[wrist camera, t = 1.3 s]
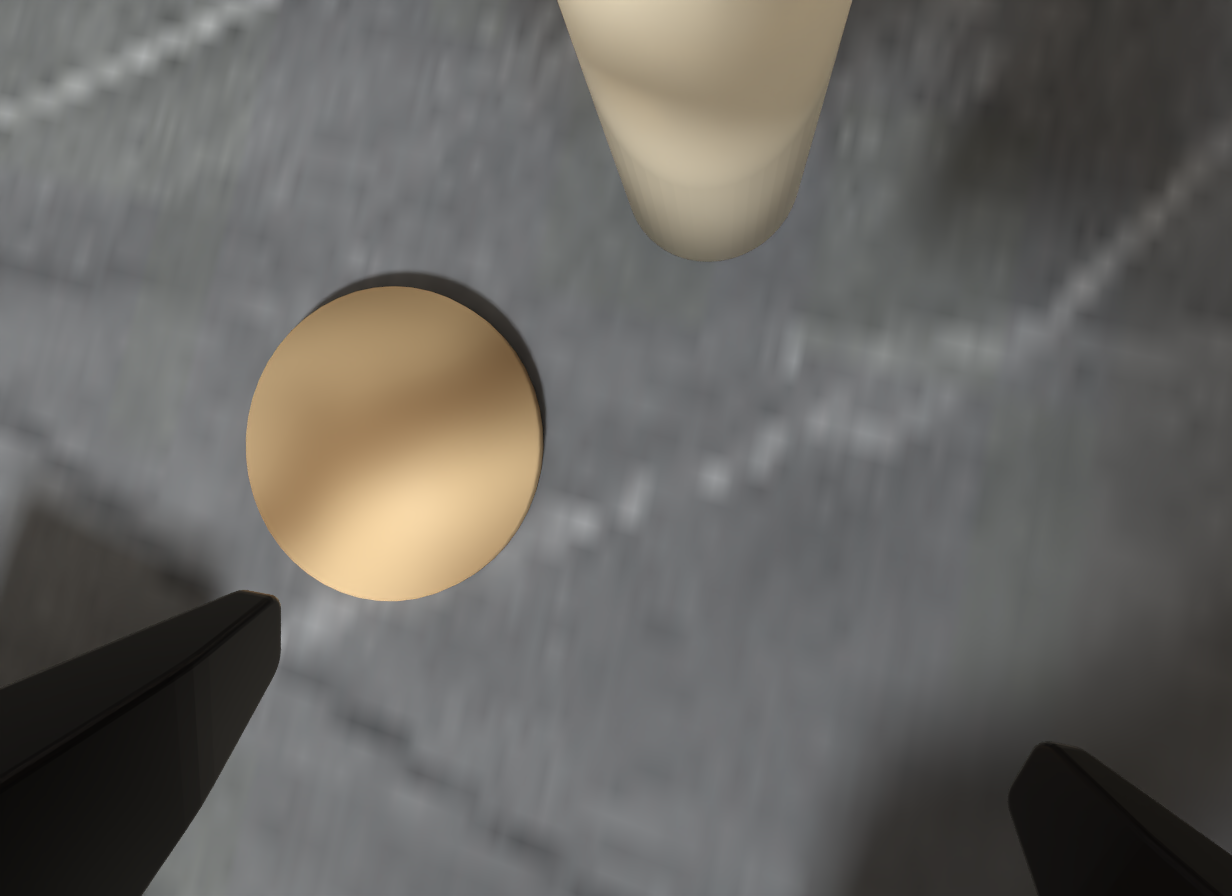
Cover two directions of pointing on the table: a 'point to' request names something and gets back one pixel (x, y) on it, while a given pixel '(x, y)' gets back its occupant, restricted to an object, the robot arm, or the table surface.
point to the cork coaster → (394, 443)
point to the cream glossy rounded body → (708, 109)
